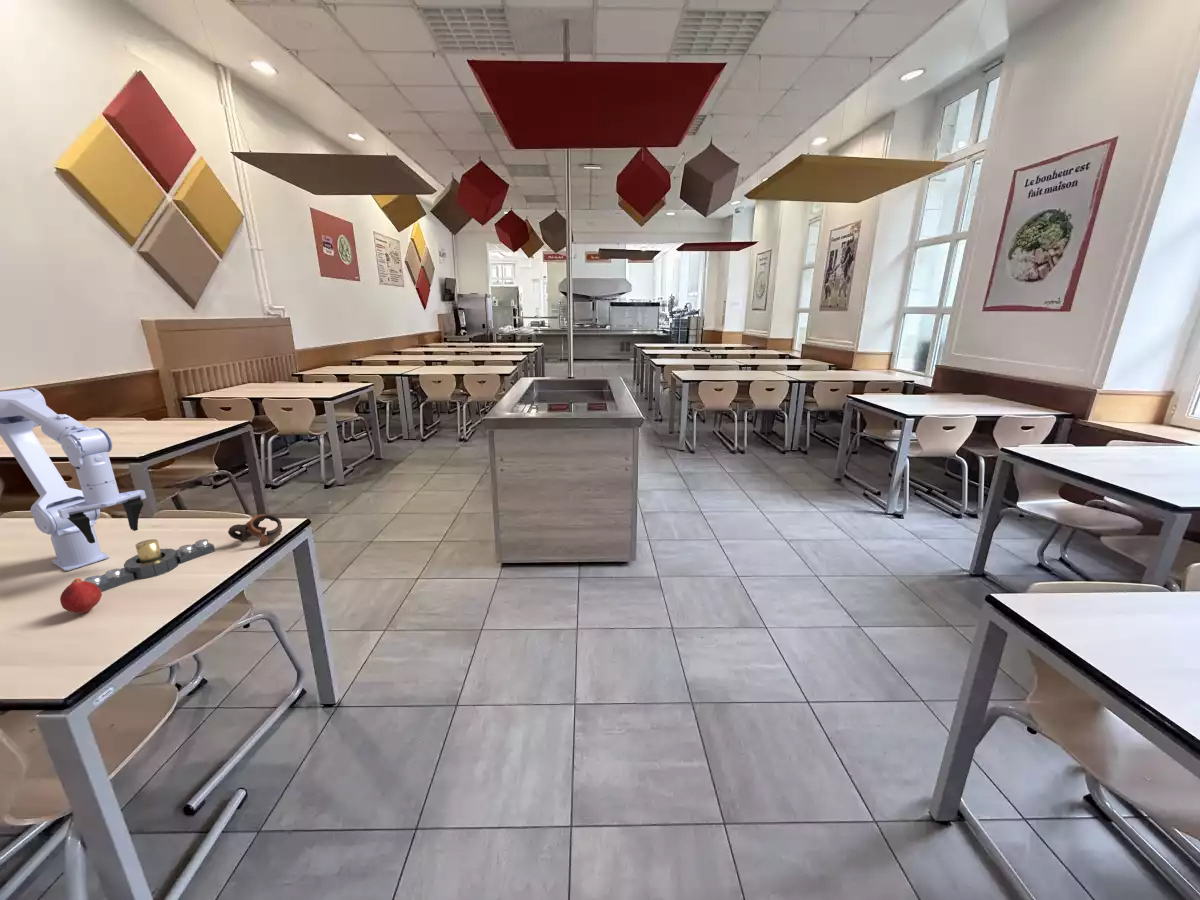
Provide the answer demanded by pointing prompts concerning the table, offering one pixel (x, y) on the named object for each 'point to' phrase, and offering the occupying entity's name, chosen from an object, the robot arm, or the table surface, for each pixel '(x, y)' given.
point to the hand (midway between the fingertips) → (113, 535)
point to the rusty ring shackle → (256, 530)
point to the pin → (148, 551)
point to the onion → (80, 596)
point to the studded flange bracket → (151, 565)
